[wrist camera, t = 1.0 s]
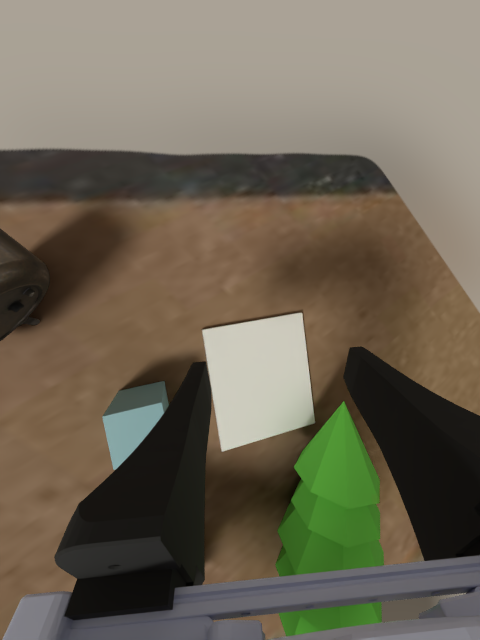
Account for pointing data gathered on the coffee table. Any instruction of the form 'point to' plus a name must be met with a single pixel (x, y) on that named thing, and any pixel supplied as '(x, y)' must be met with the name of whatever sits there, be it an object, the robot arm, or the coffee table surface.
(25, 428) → the coffee table surface
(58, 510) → the coffee table surface
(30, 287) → the alarm clock
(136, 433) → the teal block
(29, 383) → the coffee table surface
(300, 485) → the decorative tree
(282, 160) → the coffee table surface
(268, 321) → the off-white tile
